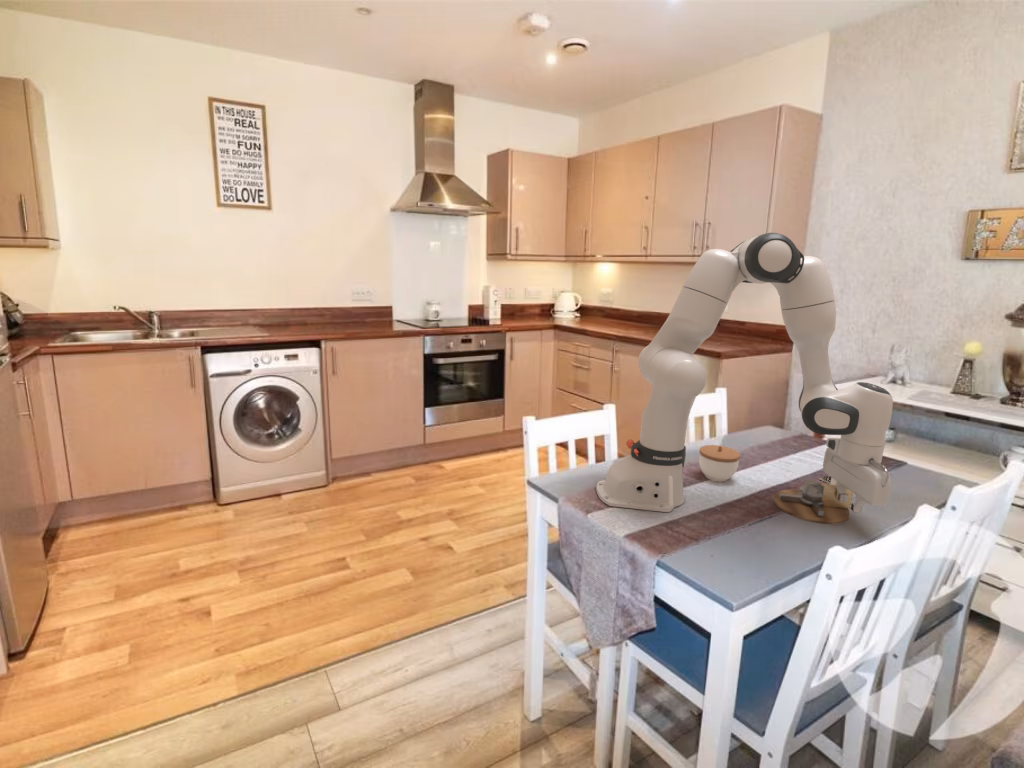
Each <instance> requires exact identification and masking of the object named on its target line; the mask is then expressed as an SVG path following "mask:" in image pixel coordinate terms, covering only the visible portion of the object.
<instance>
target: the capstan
mask: <svg viewBox="0 0 1024 768" xmlns="http://www.w3.org/2000/svg"><path fill="white" fill-rule="evenodd" d="M799 490H800V491H801V492H798V493H797V495H789V494H780V495H779V499H780V500H787V501H795V502H800V503H802V504H804V505H807V506H811V507H812V508H813V509H814V511H815V512H816V514H817V515H818V516H823V515H824V511H823V509H822V508H821V507H822V506H831V507H840V508H848V509H850V510H851V504H852V501H853V495H854V493H853V492H851V491H850V490H849V489H847V488H846V494H847V495H848V498H847V501H846V502H841V501H839V500H838V499H837V493H838V492H837V488H836V485H831V484H829V483H822V482H820V481H818V480H817V481H816V480H811V479H808V480H807V479H806V480H805V481H804V482H803V485H800V489H799Z"/></svg>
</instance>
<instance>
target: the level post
mask: <svg viewBox="0 0 1024 768" xmlns="http://www.w3.org/2000/svg"><path fill="white" fill-rule="evenodd" d="M830 484H831V485H836V480H835V479H833V478H832V477H831V482H830Z"/></svg>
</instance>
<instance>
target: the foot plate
mask: <svg viewBox="0 0 1024 768" xmlns="http://www.w3.org/2000/svg"><path fill="white" fill-rule="evenodd" d="M798 492H801V491H800V489H793V488H792V489H782V490H779V491H776V492H775V493H774V495H773V500H772V501H773V504H774V505H775V506H776V508H778V510H780V511H782V512H784V513H785V514H788V515H790V516H791V517H792V516H793V517H795V518H797V519H800V520H803V521H807V522H811V523H816V524H825V525H836V524H837V525H838V524H842V523H843V524H844V523H845V522H847V521H848V520H849V518H850V510H849V509H848V508H840V507H831V506H822V507H821V508H822V509H823V511H824V515H823V516H818V515H817V514H816V512H815V511H814V509H813V508H812V507H811V506H807V505H804V504H802V503H800V502H795V501H787V500H780V499H779V495H780V494H789V495H797V493H798Z"/></svg>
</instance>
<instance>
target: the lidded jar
mask: <svg viewBox="0 0 1024 768" xmlns="http://www.w3.org/2000/svg"><path fill="white" fill-rule="evenodd" d="M740 458H741V454H740V452H738V451H737V450H735V449H734V448H731V447H727V446H725V445H724V446H722V445H716V444H715V445H714V444H707V445H704V446H701V447H700V448H699V457H698V463H699V464H698V465H699V469H700V470H701V472H702V473H703V475H704V476H705V478H707V480H711V481H714V482H719V483H720V482H728V480H729V479H730V478H732V477H733V476H735V474H736V472H737V470H738V467H739V463H740Z"/></svg>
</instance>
